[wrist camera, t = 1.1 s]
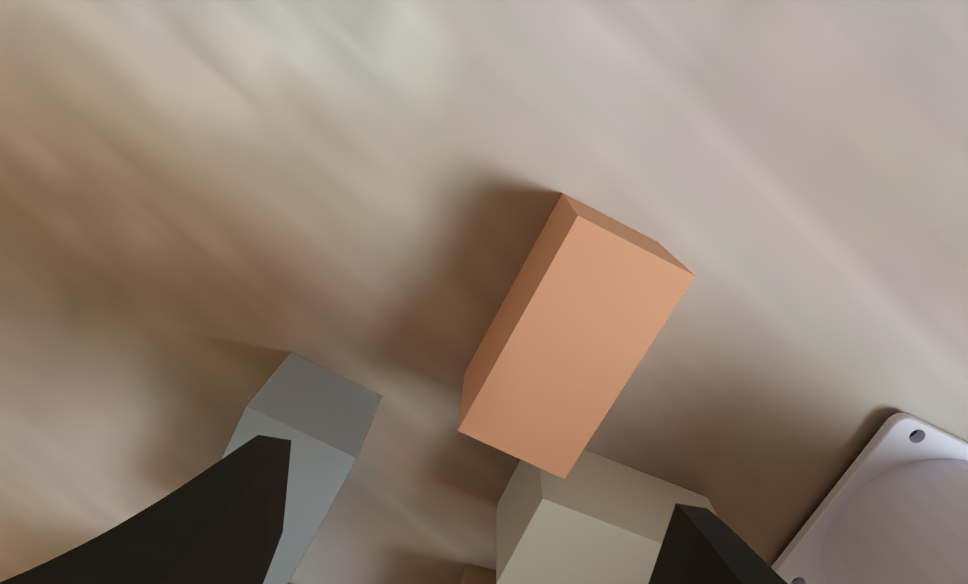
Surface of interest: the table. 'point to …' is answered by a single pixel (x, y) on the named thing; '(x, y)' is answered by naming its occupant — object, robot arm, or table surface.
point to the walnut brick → (478, 575)
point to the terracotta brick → (568, 336)
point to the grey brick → (584, 523)
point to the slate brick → (307, 445)
